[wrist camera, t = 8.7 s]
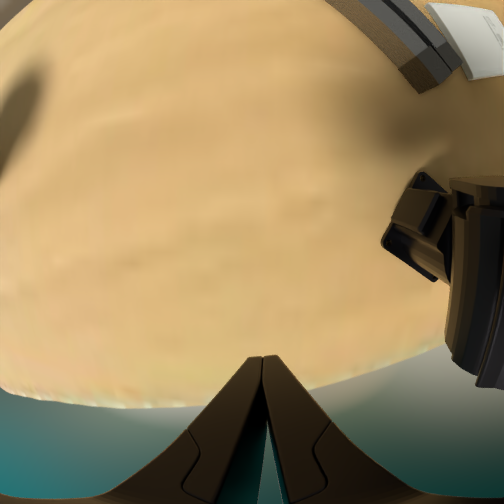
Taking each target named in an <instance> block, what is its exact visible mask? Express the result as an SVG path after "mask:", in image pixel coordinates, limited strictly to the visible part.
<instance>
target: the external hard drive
mask: <svg viewBox="0 0 504 504" xmlns="http://www.w3.org/2000/svg"><path fill="white" fill-rule="evenodd" d="M424 7H425V8H426V9H427V11H428V12H429V14H430V15H431V16H432V18H433V19H434V21H435V22H436V24H437V25H438V27H439V28H440V30H441V32H442V33H443V35H444V36H445V38H446V40H447V41H448V43H449V44H450V45H451V47H452V48H453V49H454V50H455V52H456V53H457V54H458V56H459V57H460V58H461V60H462V61H463V62H464V63H462V64H461V67H462V69H463V71H464V73H465V75H466V77H467V79H468V81H470V80H476V79H482V78H489V77H496V76H504V27H503V25H502V24H501V22H500V20H499V19H498V17H497V16H496V14H495V13H494V12H493V11H492V10H487V9H482V8H477V7H470V6H463V5H455V4H445V3H427V4H426V5H424Z"/></svg>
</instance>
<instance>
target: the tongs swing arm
mask: <svg viewBox="0 0 504 504" xmlns="http://www.w3.org/2000/svg"><path fill="white" fill-rule="evenodd" d="M325 1H326V2H327V3H329V4H330V5H331V6H333V7H334V8H335V9H336V10H338V11H339V12H340V13H341V14H343V15H344V16H345V17H346V18H347V19H349V20H350V21H351V22H352V23H353V24H354V25H356V26H357V27H358V28H359V29H360V30H361V31H362V32H363V33H364V34H365V35H367V36H368V37H369V38H370V39H371V40H372V41H373V42H374V43H375V44H376V45H377V46H378V47H379V48H380V49H381V50H382V51H383V52H384V53H385V54H386V55H387V56H388V57H389V59H390V60H391V61H392V62H393V63H394V64H395V65H396V66H397V67H398V68H399V69H398V70H399V71H400V72H401V73H402V74H403V76H404V77H405V78H406V79H407V80H408V81H409V83H410V84H411V85H412V86H413V88H414V89H415V90H416V91H417V93H418V94H420V93H422V92H424V91H426V90H428V89H431V88H433V87H435V86H437V85H439V84H441V83H442V82H443V81H444V80H445V79H446V78H447V77H448V76H449V75H451V74H452V72H451V71H450V69H449V68H448V67H447V65H446V64H445V63H444V62H443V60H442V59H441V58H440V57H439V55H438V54H437V53H436V52H435V51H434V49H433V48H432V47H431V46H429V47H428V46H427V45H426V44H425V43H424V42H423V41H422V39H421V38H420V37H419V36H418V35H417V34H416V33H415V32H414V31H413V30H412V29H411V28H410V27H409V26H408V25H407V24H406V23H405V22H404V21H403V20H402V19H401V18H400V17H399V16H398V15H397V14H396V13H395V12H394V11H393V10H392V9H390V8H389V7H388V6H387V5H386V4H385V3H384V2H383V1H381V0H325Z"/></svg>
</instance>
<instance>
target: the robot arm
mask: <svg viewBox="0 0 504 504" xmlns="http://www.w3.org/2000/svg"><path fill="white" fill-rule="evenodd" d="M421 175H422V177H423V180H422V181H421V180H420V176H421ZM449 181H450V188H451V189H452V194H448V193H447V192H446V191H445V190H444V189H443V188H442V187H441V186H440V185H439V184H438V183H436V182H435V181H434V180H433V179H432V178H431V177H430V176H429V175H427V174H426V173H425V172H417V173H416V174H415V176H414V178H413V180H412V182H411V184H410V186H409V188H408V189H406V190H405V192H404V194H403V196H402V198H401V200H400V202H399V203H398V205H397V207H396V209H395V211H394V213H393V215H392V217H391V223H390V225H389V226H388V228H387V230H386V232H385V233H384V235H383V237H382V239H381V246H382V247H383V248H384V249H386V250H387V251H389V252H390V253H392V254H393V255H395V256H396V257H398V258H399V259H401V260H402V261H403V262H405V263H406V264H408V265H409V266H411V267H412V268H413V269H415V270H416V271H418V272H419V273H420V274H422V275H423V276H425V277H426V278H427V279H429V280H430V281H431V282H436V281H437V280H438V279H440V280H442V281H443V282H445V283H446V284H448V285H449V286H450V294H449V303H448V311H447V318H446V325H445V342H446V344H447V346H448V348H449V349H450V352H451V353H452V357H451V359H452V361H453V362H455V363H456V364H457V365H458V366H459V367H460V368H462V369H463V370H465V371H467V372H469V373H470V374H472V375H475V376H478V377H477V380H476V383H475V386H476V387H481V388H497V389H501V390H504V176H479V177H463V178H450V179H449ZM387 240H389V241H390V242H389V244H388V245H386V241H387ZM433 275H434V277H433V278H432V276H433ZM267 421H268V428H269V434H270V439H271V445H272V450H273V456H274V461H275V466H276V471H277V476H278V481H279V486H280V491H281V497H282V502H283V504H504V497H503V498H471V497H457V496H445V495H438V494H431V493H426V492H423V491H420V490H417V489H415V488H413V487H411V486H409V485H407V484H406V483H404V482H403V481H401V480H400V479H399V478H397V477H396V476H394V475H393V474H392V473H390V472H389V471H387V470H386V469H385V468H384V467H382V466H381V465H380V464H378V463H377V462H376V461H374V460H373V459H372V458H371V457H369V456H368V455H367V454H365V453H364V452H363V451H362V450H361V449H359V447H357V446H356V445H355V444H354V443H353V442H352V441H351V440H350V439H349V438H348V437H347V436H346V435H345V434H344V433H343V432H342V431H341V430H340V429H339V427H338V426H337V425H336V424H335V423H334V422H332V420H331V419H330V417H329V416H328V415H327V414H326V413H325V412H324V410H323V409H322V408H321V407H320V406H319V405H318V403H317V402H316V401H315V400H314V399H313V397H312V396H311V395H310V394H309V393H308V392H307V390H306V389H305V388H304V387H303V386H302V384H301V383H300V382H299V381H298V380H297V378H296V377H295V376H294V375H293V373H292V372H291V371H290V370H289V369H288V367H287V366H286V365H285V364H284V362H283V361H282V360H281V359H280V357H279V356H278V355H269V356H264V357H261V356H257V357H249V358H247V360H246V361H245V362H244V363H243V364H242V366H241V367H240V368H239V369H238V370H237V372H236V373H235V374H234V375H233V376H232V377H231V379H230V380H229V381H228V382H227V383H226V384H225V386H224V387H223V388H222V389H221V390H220V391H219V393H218V394H217V395H216V396H215V397H214V398H213V399H212V401H211V402H210V403H209V404H208V405H207V406H206V407H205V408H204V410H203V411H202V412H201V413H200V414H199V415H198V416H197V417H196V418H195V420H194V421H193V422H192V423H191V424H190V425H189V426H188V427H187V429H185V430H184V431H183V432H182V433H181V434H180V435H179V437H177V438H176V439H175V440H174V441H173V442H172V443H171V444H170V445H169V446H168V447H167V448H166V449H165V450H164V451H163V452H162V453H160V454H159V455H158V456H157V457H156V458H154V459H153V460H152V461H151V462H150V463H148V464H147V465H146V466H144V467H143V468H142V469H140V470H139V471H137V472H136V473H135V474H133V475H132V476H130V477H129V478H128V479H126V480H125V481H123V482H122V483H120V484H119V485H118V486H116V487H115V488H113V489H111V490H109V491H107V492H105V493H103V494H100V495H97V496H93V497H86V498H70V499H33V498H19V497H12V496H8V495H4V494H1V493H0V504H257V503H258V496H259V489H260V482H261V474H262V467H263V460H264V452H265V444H266V436H267Z"/></svg>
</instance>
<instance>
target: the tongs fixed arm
mask: <svg viewBox="0 0 504 504" xmlns="http://www.w3.org/2000/svg"><path fill="white" fill-rule="evenodd" d="M381 1H383V2H384V3H385V4H386V5H387V6H388V7H389V8H390V9H392V10H393V11H394V12H395V13H396V14H397V15H398V16H399V17H400V18H401V19H402V20H403V21H404V22H405V23H406V24H407V25H408V26H409V27H410V28H411V29H412V30H413V31H414V32H415V33H416V34H417V35H418V36H419V37H420V38H421V39H422V41H423V42H424V43H425V44H426V45H427V46H428V47H429V46H431V47H432V48H433V49H434V51H435V52H436V53H437V54H438V55H439V57H440V58H441V59H442V60H443V62H444V63H445V64H446V65H447V67H448V68H449V69H450V71H451V72H453V71H454V70H455V69H456V68H458V67H459V66H460V65H461V64H462V63H464V62H463V61H462V60H461V58H460V57H459V56H458V54H457V53H456V52H455V50H454V49H453V48H452V47H451V45H450V44H449V43H448V42H447V40H446V39H445V38H444V37H443V35H442V34H441V33H440V32H439V31H438V30H437V29H436V27H435V26H434V25H433V24H432V23H431V22H430V21H429V20H428V19H427V18H426V17H425V16H424V15H423V13H422V12H421V11H420V10H419V9H418V8H417V7H416V6H415V5H413V4H412V3H411V2H410V1H409V0H381Z"/></svg>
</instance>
